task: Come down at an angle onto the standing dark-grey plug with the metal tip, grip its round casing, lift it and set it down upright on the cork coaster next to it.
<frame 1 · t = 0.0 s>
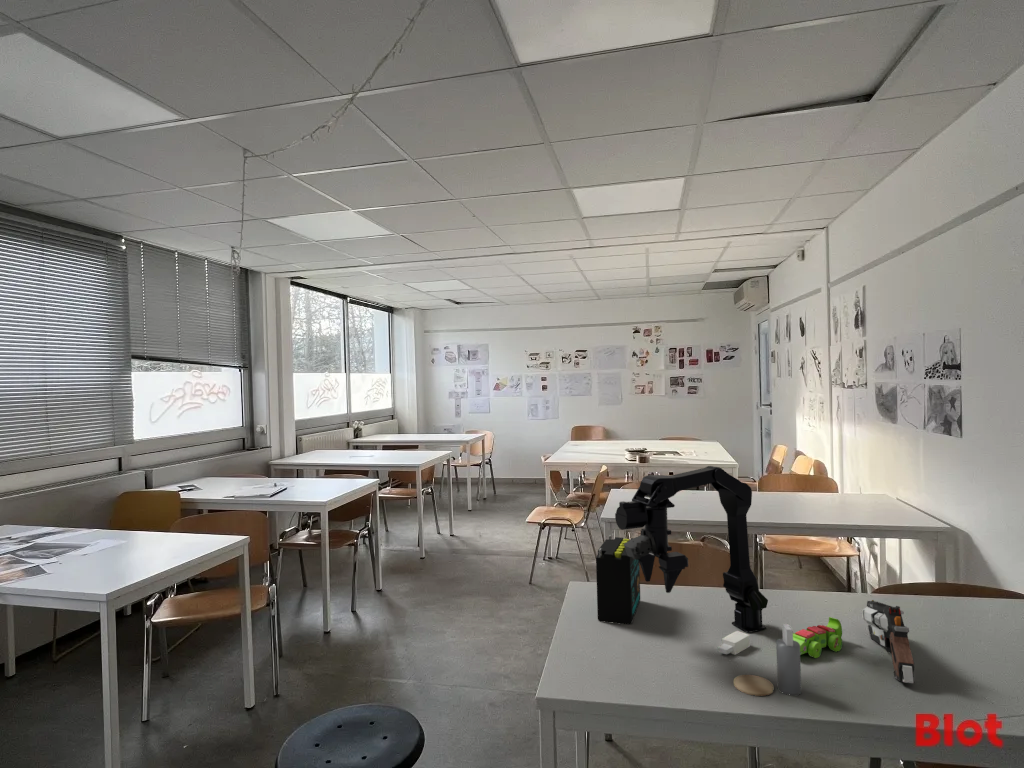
hand: (657, 586, 147), 15 cm above the table, tool pointing down, fingers open, 9 cm apart
toy gun: (889, 659, 137), on the table
small lying plug: (736, 648, 144), on the table
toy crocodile: (815, 651, 142), on the table
battery: (620, 611, 171), on the table
cork coaster: (753, 686, 125), on the table
grey plug: (789, 690, 124), on the table
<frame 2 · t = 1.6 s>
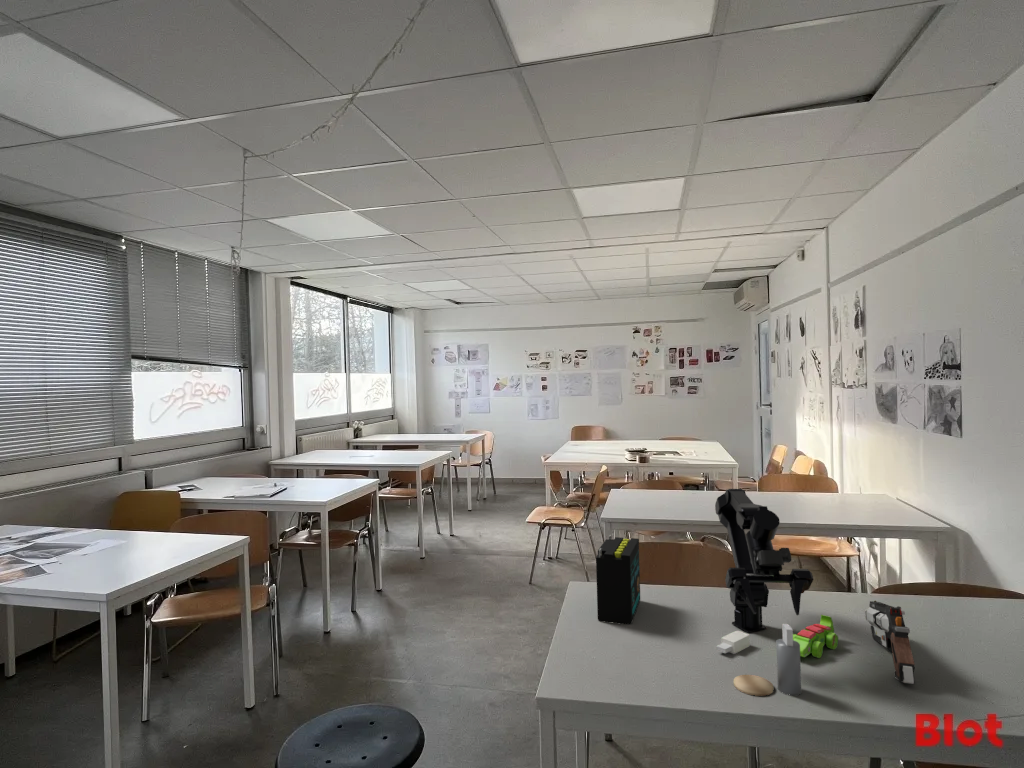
hand: (776, 613, 131), 13 cm above the table, tool tilted 45°, fingers open, 9 cm apart
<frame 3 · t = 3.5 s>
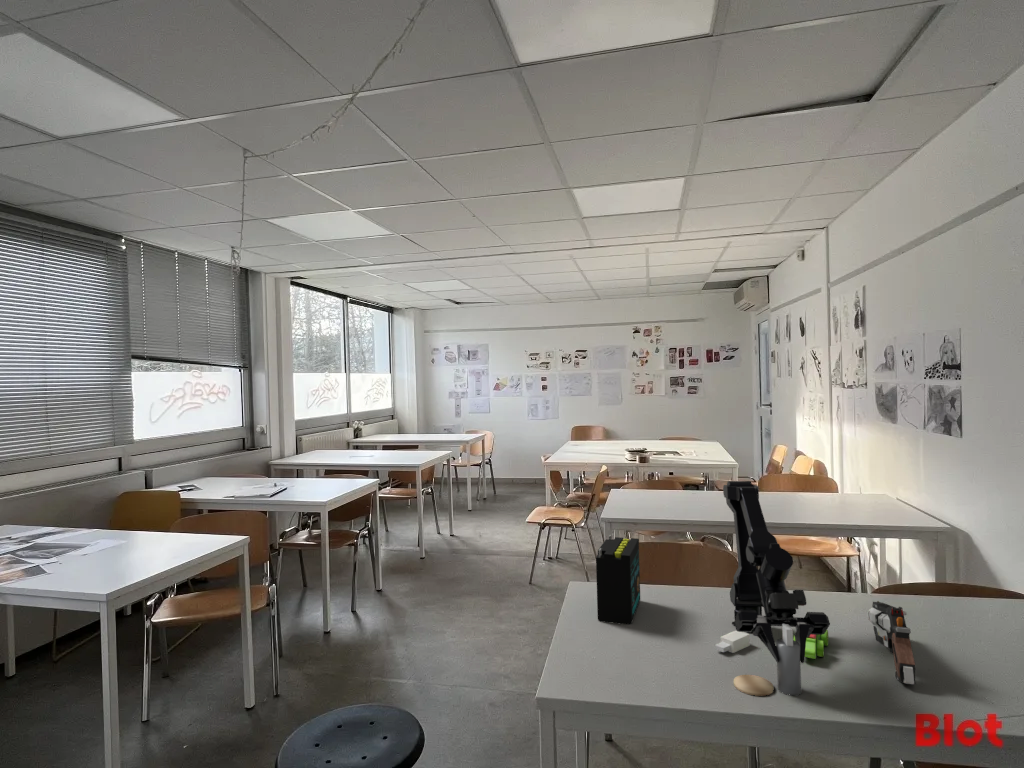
hand: (790, 662, 122), 7 cm above the table, tool tilted 45°, fingers closed on grey plug, 5 cm apart
grey plug: (789, 690, 124), on the table, touching gripper
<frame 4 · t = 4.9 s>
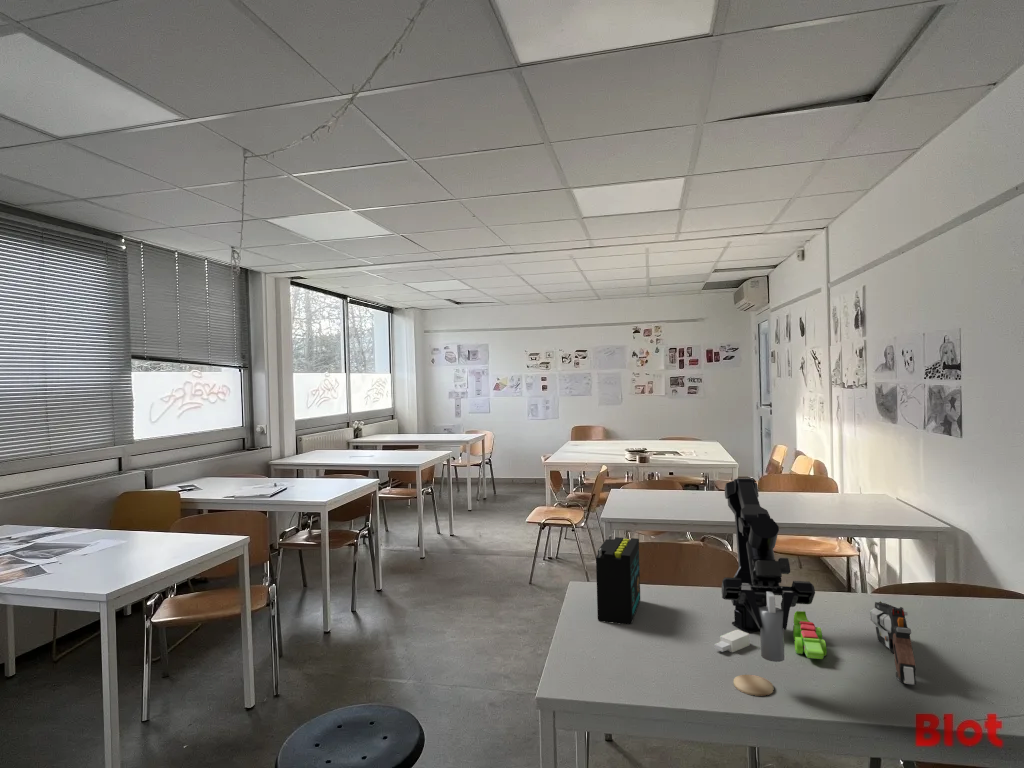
hand: (772, 628, 123), 13 cm above the table, tool tilted 45°, fingers closed on grey plug, 5 cm apart
grey plug: (772, 656, 124), point 7 cm above the table, touching gripper
when the fingers open (8 cm above the table, at t = 6.7 s): grey plug drops 1 cm, resting on cork coaster.
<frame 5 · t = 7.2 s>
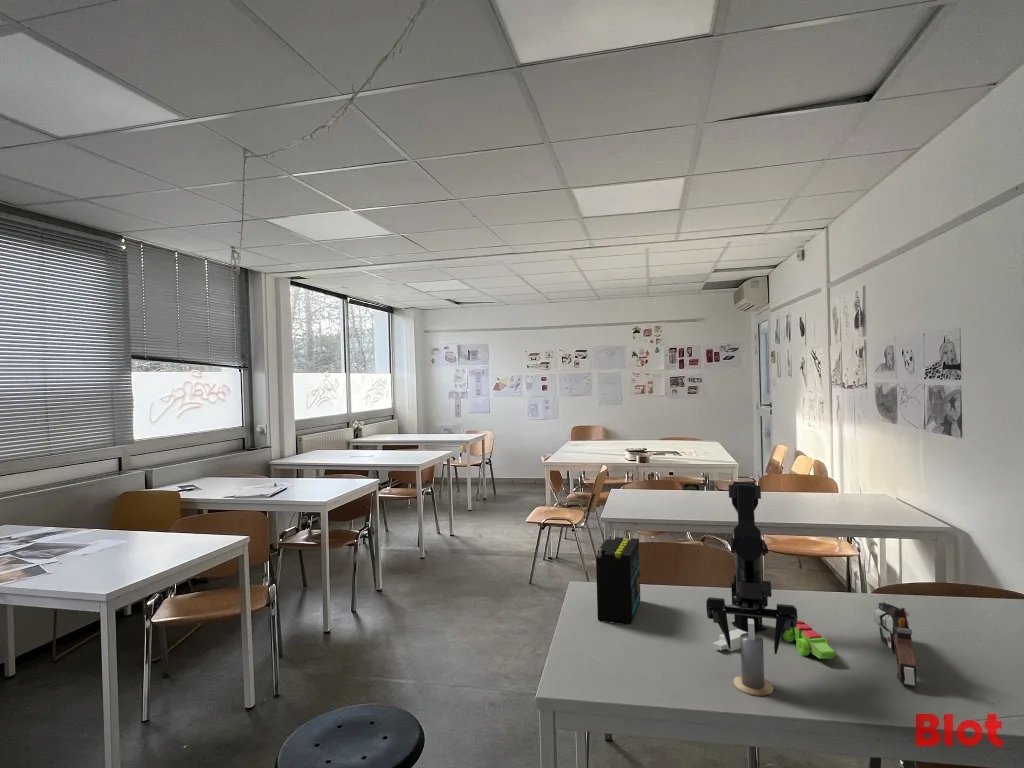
hand: (752, 650, 124), 8 cm above the table, tool tilted 45°, fingers open, 9 cm apart
grey plug: (753, 683, 125), point 1 cm above the table, touching cork coaster
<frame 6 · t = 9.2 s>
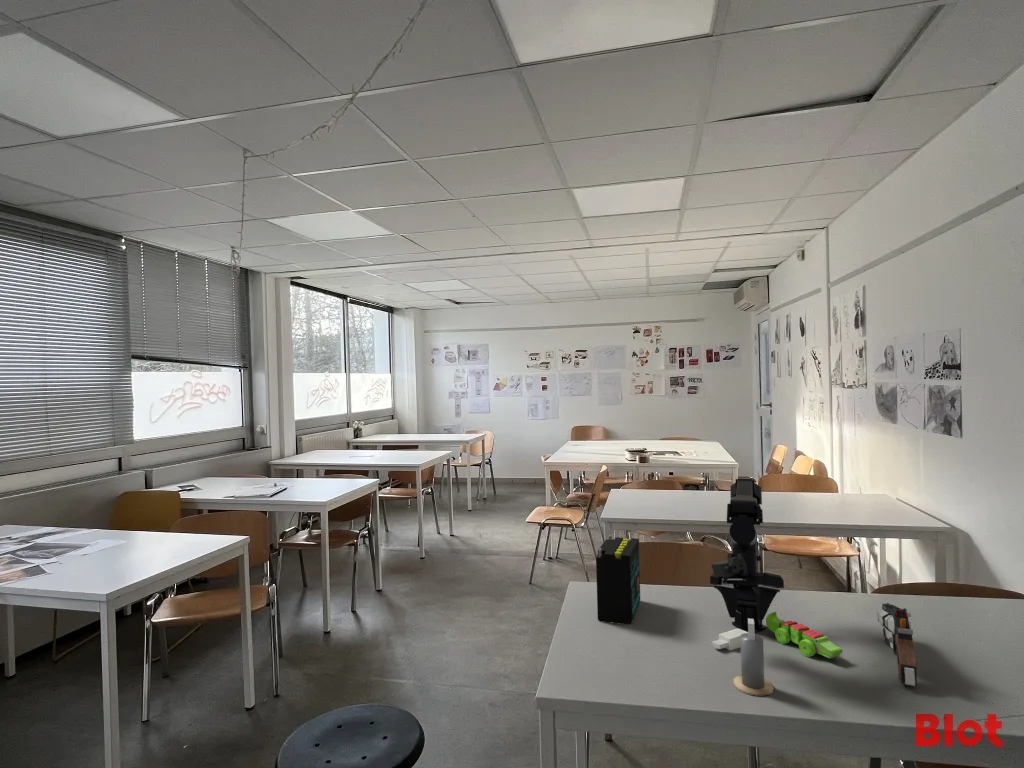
hand: (745, 618, 136), 11 cm above the table, tool tilted 25°, fingers open, 9 cm apart
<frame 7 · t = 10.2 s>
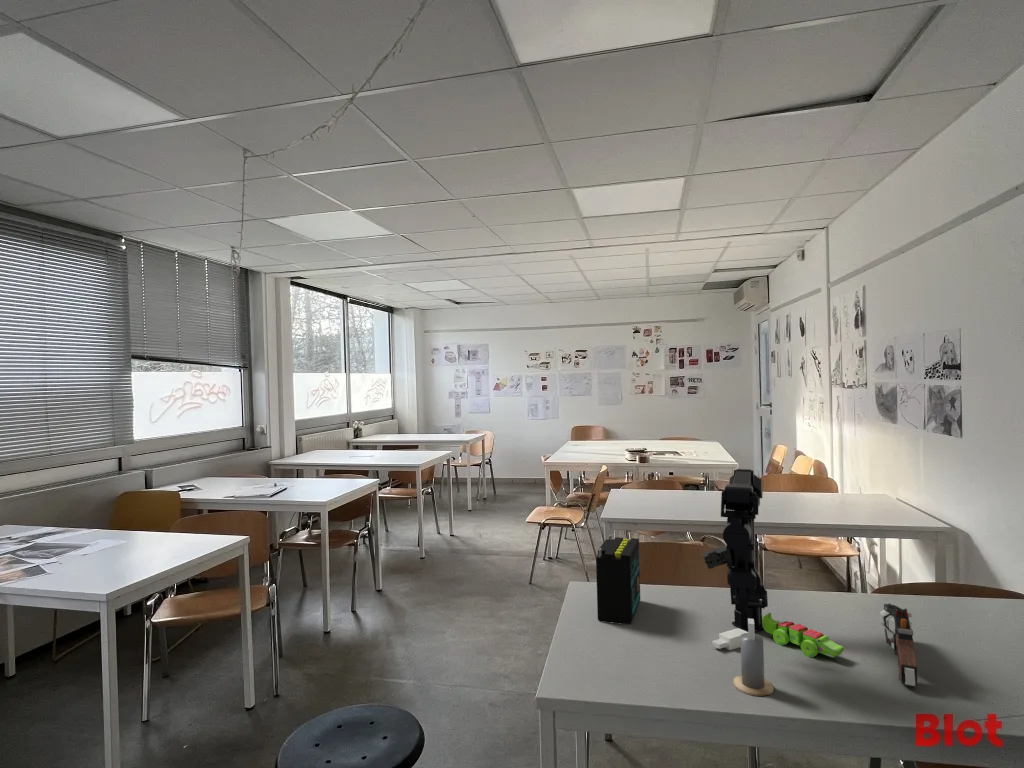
hand: (742, 603, 139), 13 cm above the table, tool pointing down, fingers open, 9 cm apart
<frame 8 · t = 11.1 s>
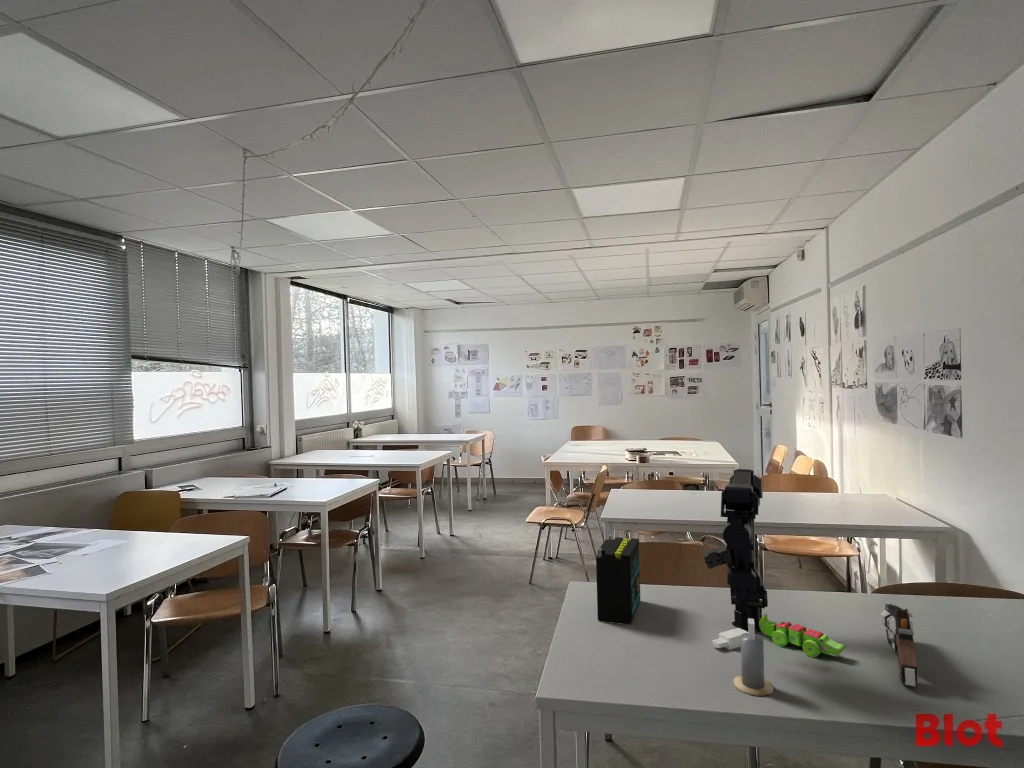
hand: (742, 603, 139), 13 cm above the table, tool pointing down, fingers open, 9 cm apart
at the end: grey plug 0.0 cm from the cork coaster (horizontally); grey plug tilted 0°; the gripper is holding nothing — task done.
